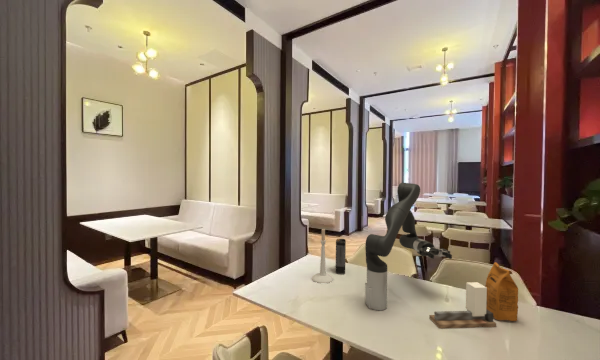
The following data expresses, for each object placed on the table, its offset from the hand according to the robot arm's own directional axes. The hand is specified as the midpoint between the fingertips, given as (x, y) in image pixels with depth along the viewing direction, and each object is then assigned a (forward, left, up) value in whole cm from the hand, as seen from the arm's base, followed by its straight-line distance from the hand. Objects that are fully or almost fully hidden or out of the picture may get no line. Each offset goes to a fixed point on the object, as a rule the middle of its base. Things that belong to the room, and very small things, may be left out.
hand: (442, 256), depth 118 cm
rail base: (0, -14, -23) cm, 27 cm away
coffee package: (+21, -9, -24) cm, 33 cm away
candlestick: (-52, +32, -24) cm, 65 cm away
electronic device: (-39, +43, -24) cm, 63 cm away
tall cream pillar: (+6, -14, -20) cm, 25 cm away
